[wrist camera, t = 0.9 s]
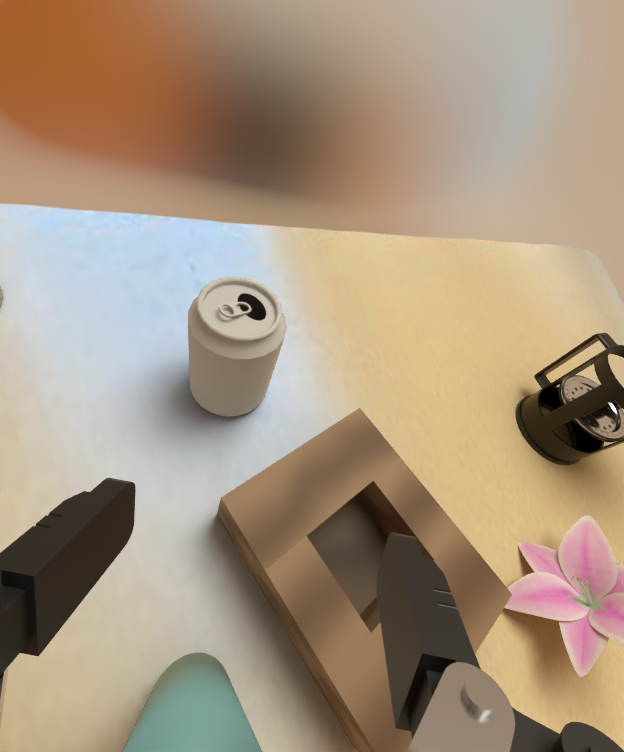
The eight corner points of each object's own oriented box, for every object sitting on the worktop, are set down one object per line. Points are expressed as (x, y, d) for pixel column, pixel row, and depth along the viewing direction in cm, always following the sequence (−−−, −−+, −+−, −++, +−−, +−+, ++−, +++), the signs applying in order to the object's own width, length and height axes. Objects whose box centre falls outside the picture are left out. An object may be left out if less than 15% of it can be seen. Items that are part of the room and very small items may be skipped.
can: (279, 400, 36) (310, 324, 26) (213, 434, 32) (220, 360, 22) (242, 347, 38) (257, 260, 28) (176, 372, 34) (168, 281, 24)
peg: (133, 697, 21) (39, 835, 9) (206, 634, 24) (219, 668, 11) (171, 785, 20) (126, 1110, 7) (245, 708, 23) (310, 845, 10)
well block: (217, 514, 28) (221, 497, 24) (339, 432, 36) (359, 407, 31) (355, 748, 23) (393, 783, 19) (465, 595, 30) (512, 594, 26)
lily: (550, 522, 38) (579, 480, 31) (679, 636, 30) (755, 611, 23) (468, 587, 35) (480, 556, 29) (584, 731, 27) (638, 734, 21)
